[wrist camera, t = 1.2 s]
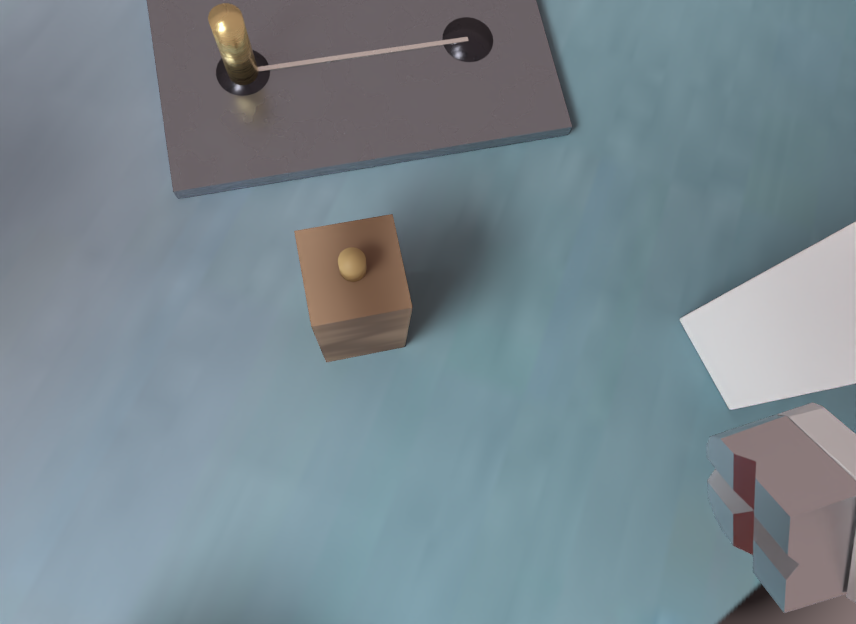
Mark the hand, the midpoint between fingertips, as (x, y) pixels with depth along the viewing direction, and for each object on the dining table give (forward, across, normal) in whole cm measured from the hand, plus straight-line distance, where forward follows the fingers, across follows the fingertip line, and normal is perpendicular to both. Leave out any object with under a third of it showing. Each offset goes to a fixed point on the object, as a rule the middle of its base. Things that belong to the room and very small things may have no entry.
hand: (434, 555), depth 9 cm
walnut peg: (+28, +1, +12) cm, 30 cm away
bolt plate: (+39, -3, 0) cm, 39 cm away
